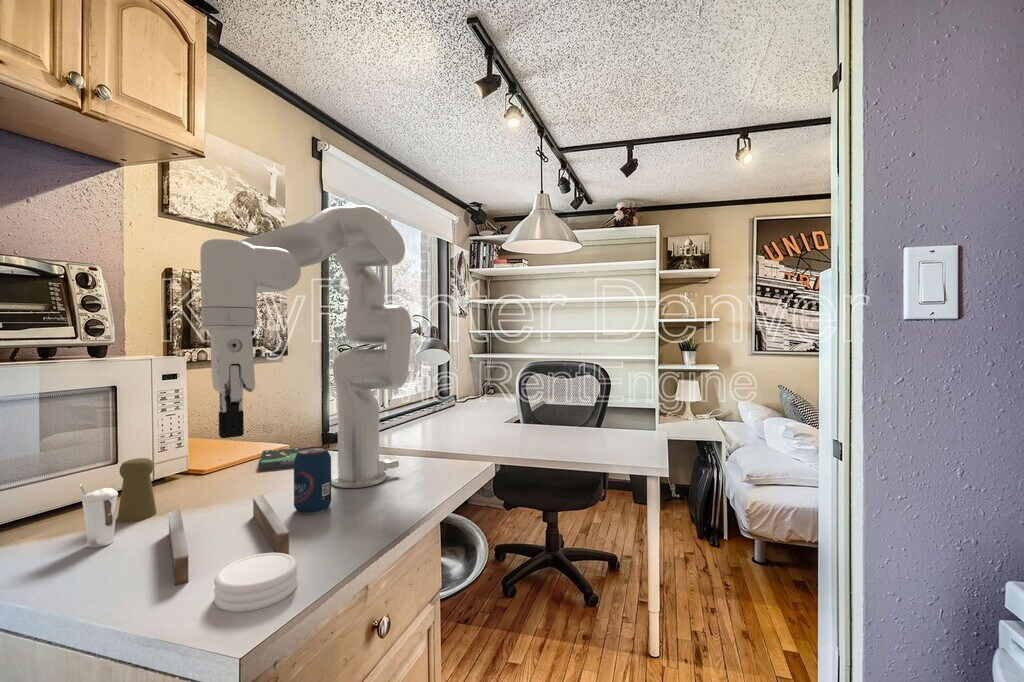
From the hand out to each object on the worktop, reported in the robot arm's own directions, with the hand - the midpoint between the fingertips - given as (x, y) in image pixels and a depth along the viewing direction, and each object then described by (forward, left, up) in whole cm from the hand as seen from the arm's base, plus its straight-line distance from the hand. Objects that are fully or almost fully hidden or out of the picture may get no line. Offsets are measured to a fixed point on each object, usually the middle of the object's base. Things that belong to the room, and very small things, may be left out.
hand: (231, 436), depth 75 cm
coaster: (-1, +14, -20) cm, 24 cm away
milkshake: (+17, -19, -19) cm, 32 cm away
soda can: (-16, -14, -19) cm, 28 cm away
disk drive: (-19, -56, -20) cm, 63 cm away
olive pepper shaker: (+12, -31, -19) cm, 38 cm away
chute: (0, -6, -19) cm, 20 cm away
